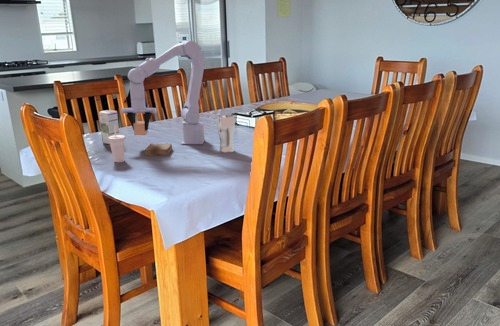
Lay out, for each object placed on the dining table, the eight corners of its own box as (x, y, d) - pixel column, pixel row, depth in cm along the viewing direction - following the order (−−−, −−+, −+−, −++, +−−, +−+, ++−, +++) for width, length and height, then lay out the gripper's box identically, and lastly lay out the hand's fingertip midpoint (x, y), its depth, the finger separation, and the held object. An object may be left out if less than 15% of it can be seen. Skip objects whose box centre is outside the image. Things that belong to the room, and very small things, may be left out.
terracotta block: (147, 132, 186) (146, 121, 184) (144, 135, 181) (144, 123, 180) (137, 132, 186) (136, 121, 184) (134, 135, 182) (133, 123, 180)
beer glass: (220, 154, 176) (219, 117, 171) (217, 149, 182) (215, 114, 178) (236, 152, 178) (236, 116, 173) (233, 148, 184) (232, 113, 179)
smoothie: (121, 157, 172) (117, 123, 168) (130, 160, 168) (127, 125, 164) (107, 161, 167) (103, 126, 163) (116, 164, 163) (113, 128, 159)
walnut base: (172, 149, 183) (171, 143, 182) (167, 155, 174) (167, 149, 173) (151, 149, 183) (150, 143, 182) (145, 155, 174) (145, 149, 174)
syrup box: (120, 142, 194) (117, 110, 190) (110, 145, 190) (106, 112, 185) (112, 140, 197) (109, 109, 193) (101, 143, 193) (98, 111, 188)
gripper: (117, 99, 175) (120, 132, 180) (152, 99, 175) (155, 132, 179) (122, 97, 182) (126, 128, 186) (156, 96, 182) (159, 128, 186)
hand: (140, 129), depth 183 cm, fingers closed on terracotta block, 4 cm apart
